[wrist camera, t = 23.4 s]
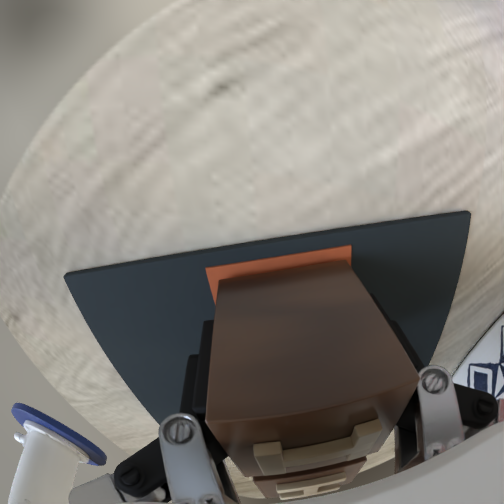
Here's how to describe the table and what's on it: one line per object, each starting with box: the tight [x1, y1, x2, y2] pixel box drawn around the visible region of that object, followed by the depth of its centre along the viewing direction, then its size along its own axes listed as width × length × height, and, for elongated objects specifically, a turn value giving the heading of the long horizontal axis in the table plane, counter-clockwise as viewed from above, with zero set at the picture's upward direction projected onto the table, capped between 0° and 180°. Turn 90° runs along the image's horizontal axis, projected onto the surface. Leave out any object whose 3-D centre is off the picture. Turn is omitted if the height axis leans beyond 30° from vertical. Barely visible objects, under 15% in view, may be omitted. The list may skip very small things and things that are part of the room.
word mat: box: [64, 211, 471, 425], centre depth 13 cm, size 20×14×1 cm
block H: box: [253, 456, 367, 500], centre depth 12 cm, size 5×5×6 cm
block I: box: [205, 260, 420, 477], centre depth 8 cm, size 5×5×6 cm
